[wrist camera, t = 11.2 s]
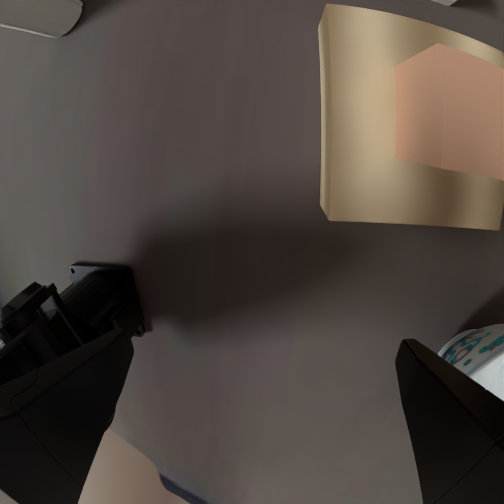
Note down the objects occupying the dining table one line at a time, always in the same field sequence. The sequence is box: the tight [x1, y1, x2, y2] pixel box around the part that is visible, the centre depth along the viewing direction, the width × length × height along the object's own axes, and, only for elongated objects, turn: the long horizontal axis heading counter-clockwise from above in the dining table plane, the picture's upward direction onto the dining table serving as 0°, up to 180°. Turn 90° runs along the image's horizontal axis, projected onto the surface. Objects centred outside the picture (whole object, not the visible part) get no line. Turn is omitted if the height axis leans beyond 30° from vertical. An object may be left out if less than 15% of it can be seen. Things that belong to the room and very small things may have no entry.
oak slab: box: [318, 4, 504, 231], centre depth 14 cm, size 12×12×4 cm
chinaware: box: [438, 324, 504, 401], centre depth 19 cm, size 15×15×8 cm
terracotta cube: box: [394, 43, 504, 180], centre depth 10 cm, size 5×5×5 cm
